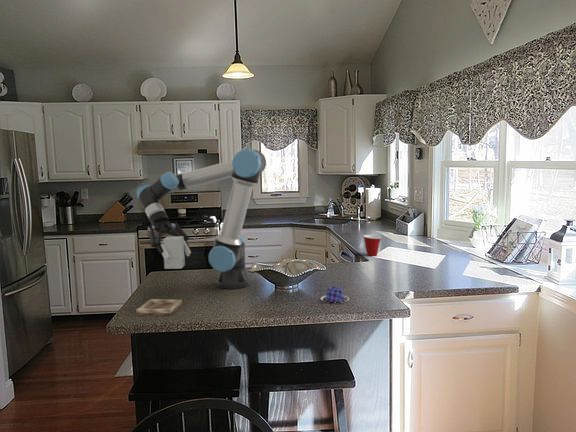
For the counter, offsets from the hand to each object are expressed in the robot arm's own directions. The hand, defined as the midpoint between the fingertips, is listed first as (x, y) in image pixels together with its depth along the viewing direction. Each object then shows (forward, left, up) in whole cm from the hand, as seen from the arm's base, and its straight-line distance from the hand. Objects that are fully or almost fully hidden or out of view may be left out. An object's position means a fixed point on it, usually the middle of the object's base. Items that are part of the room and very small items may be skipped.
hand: (178, 256), depth 196 cm
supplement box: (+3, -2, -5) cm, 6 cm away
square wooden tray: (+4, +12, -19) cm, 23 cm away
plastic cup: (-86, -97, -19) cm, 131 cm away
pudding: (-65, -5, -20) cm, 68 cm away
